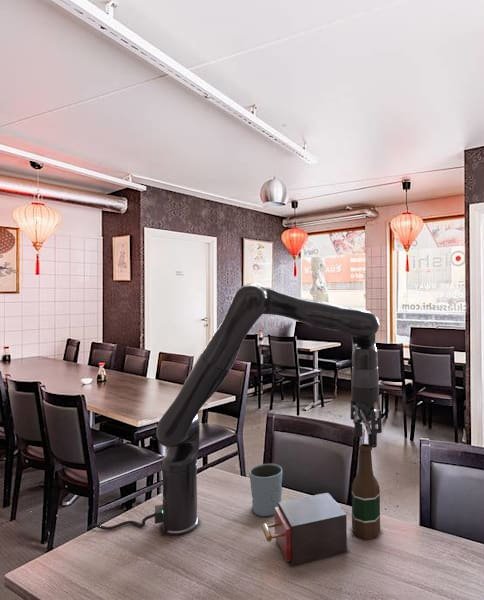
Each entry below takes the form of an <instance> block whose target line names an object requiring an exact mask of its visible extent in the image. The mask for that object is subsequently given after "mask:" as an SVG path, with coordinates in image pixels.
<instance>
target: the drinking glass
mask: <svg viewBox="0 0 484 600" xmlns="http://www.w3.org/2000/svg"><path fill="white" fill-rule="evenodd" d="M249 481H250V490H251V491H250V492H251V498H252V500H251V501H252V502H251V503H252V510H253V513H254V514H255V515H257V516H260V517H270V516H275V507H278V502H282V494H283V493H282V492H283V486H282V483H283V468H282V466H280V465H279V464H276V463H261V464H257V465H255V466H252V468H251V469H249Z"/></svg>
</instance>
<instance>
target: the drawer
mask: <svg viewBox="0 0 484 600" xmlns="http://www.w3.org/2000/svg"><path fill="white" fill-rule="evenodd" d="M271 528H274V534H271V531H270V529H271ZM261 529H262V532H263V534H264V536H265V539H266V541H267V542H272V540H274V539H275V540H276V541H277V543H278V546H279V548H280V550H281V552H282V555H283V557H284V559H285V561H286V562H290V561H291V527H290V525H289V524H288V522H287V520H286V518H285V516H284V515H283V513H282V511H281V510H280V508H279V507H275V514H274V523H269V524H267V523H263V524H261Z"/></svg>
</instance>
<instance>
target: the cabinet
mask: <svg viewBox="0 0 484 600" xmlns="http://www.w3.org/2000/svg"><path fill="white" fill-rule="evenodd" d="M278 507H279V508H280V510H281V511H282V513H283V515H284V516H285V518H286V520H287V522H288V524H289V525H290V527H291V561H289V563H290V565H291V566H296V565H299V564H303V563H307V562H308V563H309V562H311V561H316V560H320V559H323V558H324V559H325V558H328V557H331V556H335V555H339V554H343V553H347V551H348V545H347V544H348V543H347V538H348V535H347V533H348V532H347V527H348V525H347V513H346V512H345V511H344V510H343V508H342V507H341V505H339V504H338V502H337V501H336V500H335V499H334V497H333V496H332V495H331V494H330V493H329V492H324V493H317V494H314V495H308V496H302V497H298V498H292V499H287V500H283V501H282V500H281V502H278Z"/></svg>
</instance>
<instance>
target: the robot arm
mask: <svg viewBox="0 0 484 600" xmlns="http://www.w3.org/2000/svg"><path fill="white" fill-rule="evenodd" d="M263 315H271V316H273V315H274V316H280V317H285V318H288V319H292V320H294V321H297V322H300V323H302V324H306V325H309V326H311V327H316V328H320V329H324V330H330V331H337V332H341V333H344V334H347V335H351V343H352V351H351V352H352V353H351V355H352V356H351V376H350V377H351V382H350V383H351V384H350V386H351V388H350V389H351V394H350V395H351V396H350V397H351V399H350V415H349V416H350V417H349V418H350V421H351V420H352V423H353V424H354V425H353V426H354V437H355V438H361V437H363V434H364V433H363V432H364V431H363V425H364V426H365V427H366V429H367V432H368V433H367V444H368V446H369V447H370V448H372V449H373V448H377V446H378V434H382V433H383V428H382V427H383V426H382V425H383V423H382V411H381V409H376V408H375V404H376V403H377V402H378V401H379V400H380V381H379V380H380V379H379V377H380V376H379V365H378V363H379V362H378V361H379V359H378V357H379V356H378V349H377V347H376V334H377V332H378V331H379V329H380V328H379V327H380V321H379V319H378V317H377V316H376V315H375V314H374V313H372V312H370V311H367V310H359V309H353V308H348V307H347V308H346V307H343V306H341V305H337V304H333V303H329V302H324V301H319V300H314V299H309V298H303V297H297V296H293V295H289V294H286V293H282V292H280V291H277V290H274V289H271V288H269V287H266V286H264V285H262V284H260V283H256V282H250V283H247V284H244V285H242V286H241V287H239V288H238V289H237V290H236V292H235V293H234V294H233V296H232V299H231V302H230V304H229V306H228V309H227V311H226V313H225V315H224V318H223V319H222V321H221V323H220V325H219V326H218V328H217V329H216V330H215V332H214V333H213V334H212V336H211V337H210V339H209V341H208V342H207V343H206V344H205V346H204V348H203V349H202V351H201V352H200V354H199V356H198V358H197V360H196V361H195V363H194V365H193V367H192V369H191V371H190V372H189V374H188V376H187V377H186V378H185V381H184V383H183V385H182V386H181V388H180V391H179V393H178V394H177V395H176V397H175V399H174V400H173V402H171V404H170V406H169V407H168V408H167V409H166V411H165V412H164V414H163V415H162V416H161V418H159V420H158V423H157V425H156V429H155V430H156V432H155V433H156V434H155V435H156V438H157V441H158V442H159V444H160V445H161V446H163V447H165V448H167V450H166V452H165V454H164V456H163V457H162V460H161V461H162V463H161V466H162V504H157V505H155V506H154V513H152V514H149V515H146V516H145V517H144V518H143V519H142V520H141V523H140V522H138V521H136V520H126V521H122V522H120V523H118V524H114V525H111V526H105V525H102V524H99V523H92V524H90V525H88V526H87V528H86V530H87V531H88V530H91V529H92V528H98V529H100V530H104V531H112V530H114V529H117V528H120V527H123V526H125V525H134V526H136V527H139V528H143V527H144V526H145V525H146V521H147V520H149V519H152V518H154V524H155V525H157V524H162V535H182V534H185V533H188V532H191V531H192V530H194V529H195V528H196V527H197V526H198V523H199V520H198V519H199V518H198V469H197V465H198V464H197V463H198V462H197V459H198V455H199V451H200V429H201V428H200V427H201V425H200V419H199V416H198V413H199V411H200V410H201V409H202V407H203V406H204V405H205V404H206V403H207V402H208V401H209V399H210V398H211V397H212V396H213V395H214V394H215V393H216V392H217V390H218V389H219V388H220V387H221V385H222V384H223V383H224V381H225V380H226V378H227V376H228V375H229V373H230V371H231V370H232V368H233V366H234V365H235V362H236V361H237V358H238V355H239V354H240V350H241V347H242V345H243V343H244V340H245V338H246V336H247V335H248V334H249V332H250V330H251V329H252V328H253V326H254V325H255V324H256V322H257V321H258V320H259V318H261V316H263ZM101 525H102V526H101ZM100 526H101V527H100Z"/></svg>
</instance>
